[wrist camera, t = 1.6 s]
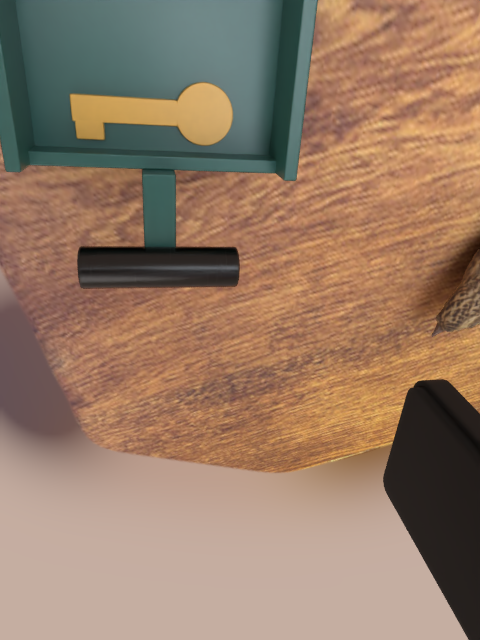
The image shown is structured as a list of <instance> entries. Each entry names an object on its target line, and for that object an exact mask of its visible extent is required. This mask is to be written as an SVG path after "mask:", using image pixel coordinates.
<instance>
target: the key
mask: <svg viewBox="0 0 480 640" xmlns="http://www.w3.org/2000/svg"><path fill="white" fill-rule="evenodd" d="M70 105H71V115H72V121H75V127H76V137H77V139H91V140H104V139H105V126H104V123H118V124H138V125H158V126H177V127H178V129H179V131H180V132H181V134H182V135H183V136H184V137H185V138H186V139H187V140H188V141H190V142H192V143H194V144H196V145H200V146H209V145H213V144H216V143H218V142H219V141H221V140H222V139H223V138H224V137H225V136H226V135H227V133H228V132H229V130H230V128H231V125H232V121H233V109H232V105H231V102H230V100H229V98H228V96H227V95H226V93H225V92H224V91H223V90H222V89H221V88H219V87H218V86H216V85H214V84H211V83H207V82H198V83H194V84H191V85H189V86H188V87H186V88H185V89H184V90H183V91H182V92H181V94H180V95H179V97H178V99H177V100H174V99H157V98H141V97H125V96H109V95H93V94H77V93H71V94H70Z"/></svg>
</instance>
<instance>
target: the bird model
mask: <svg viewBox="0 0 480 640" xmlns="http://www.w3.org/2000/svg"><path fill="white" fill-rule="evenodd" d="M436 318H437V325H436V328H435V330H434V332H433V333H432V337H433V336H435V335H437V334H439V333H441V332H443V331H447V332H453V331H459V330H461V329H469V328H472V327H474V326H476V325H479V324H480V248H479V249H478V251H477V252H476V253H475V255H473V259H472V260H471V262H470V263H469V265H468V266H467V268H466V271H465V273H464V276H463V279H462V282H461V284H460V285H459V286H458V288H457V289H456V290H455V291H454V293H453V294H452V295H451V297H450V298H449V300H448V301H447V302H446V303H445V305H444V307H443V309H442V310H441V312H440V313H439V314H438V315H437V316H436Z"/></svg>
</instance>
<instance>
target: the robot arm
mask: <svg viewBox="0 0 480 640" xmlns="http://www.w3.org/2000/svg"><path fill="white" fill-rule="evenodd" d="M383 482H384V487H385V491H386V493H387V495H388V497H389V498H390V500H391V502H392V504H393V506H394V507H395V509H396V511H397V512H398V514H399V516H400V518H401V520H402V521H403V523H404V525H405V527H406V529H407V530H408V532H409V534H410V536H411V538H412V539H413V541H414V543H415V545H416V547H417V548H418V550H419V552H420V554H421V555H422V557H423V559H424V561H425V563H426V564H427V566H428V568H429V570H430V571H431V573H432V575H433V577H434V579H435V580H436V582H437V584H438V586H439V588H440V589H441V591H442V593H443V594H444V596H445V598H446V600H447V602H448V604H449V605H450V607H451V609H452V611H453V612H454V614H455V616H456V618H457V620H458V621H459V623H460V625H461V627H462V629H463V630H464V632H465V634H466V636H467V637H468V639H469V640H480V414H479V413H478V411H477V410H476V409H475V408H474V407H473V406H472V405H471V404H470V403H469V402H468V401H467V400H466V399H465V398H464V397H463V396H462V395H461V394H460V393H459V392H458V391H457V390H456V389H455V388H454V387H453V386H452V384H451V383H449V382H448V381H447V380H443V379H441V380H423V381H418V382H417V383H416V384H415V386H414V388H410V389H409V390H408V393H407V396H406V399H405V403H404V406H403V410H402V413H401V417H400V420H399V424H398V427H397V431H396V434H395V438H394V441H393V445H392V448H391V452H390V455H389V459H388V462H387V466H386V469H385V473H384V477H383Z"/></svg>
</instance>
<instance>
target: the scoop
mask: <svg viewBox="0 0 480 640" xmlns="http://www.w3.org/2000/svg"><path fill="white" fill-rule="evenodd" d="M317 3H318V0H0V140H1V146H2V152H3V158H4V164H5V170H6V171H7V172H22V171H23V170H24V169H25V168H27V167H28V166H29V165H39V166H69V167H98V168H128V169H143V170H142V187H143V216H144V244H145V247H134V246H81V247H80V248H79V250H78V260H77V265H78V278H79V283H80V286H81V288H83V289H104V288H179V287H235V286H237V284H238V280H239V271H240V264H239V254H238V250H237V248H236V247H176V175H175V171H174V170H188V171H217V172H247V173H276V174H277V175H278V176H279V177H281V178H282V179H283V180H285V181H295V180H296V178H297V170H298V161H299V153H300V145H301V136H302V128H303V120H304V111H305V103H306V95H307V86H308V78H309V70H310V61H311V53H312V45H313V36H314V28H315V20H316V11H317ZM198 82H207V83H211V84H214V85H216V86H218V87H219V88H221V89H222V90H223V91H224V92H225V93H226V95H227V96H228V98H229V100H230V102H231V105H232V109H233V121H232V125H231V128H230V130H229V132H228V133H227V135H226V136H225V137H224V138H223V139H222V140H221V141H219V142H218V143H216V144H213V145H209V146H200V145H196V144H194V143H192V142H190V141H188V140H187V139H186V138H185V137H184V136H183V135H182V134H181V132H180V131H179V129H178V127H177V126H158V125H138V124H118V123H104V126H105V139H104V140H91V139H77V137H76V127H75V121H72V115H71V105H70V94H71V93H77V94H93V95H109V96H125V97H141V98H157V99H174V100H177V99H178V97H179V95H180V94H181V92H182V91H183V90H184V89H185V88H186V87H188V86H189V85H191V84H194V83H198Z"/></svg>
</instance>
